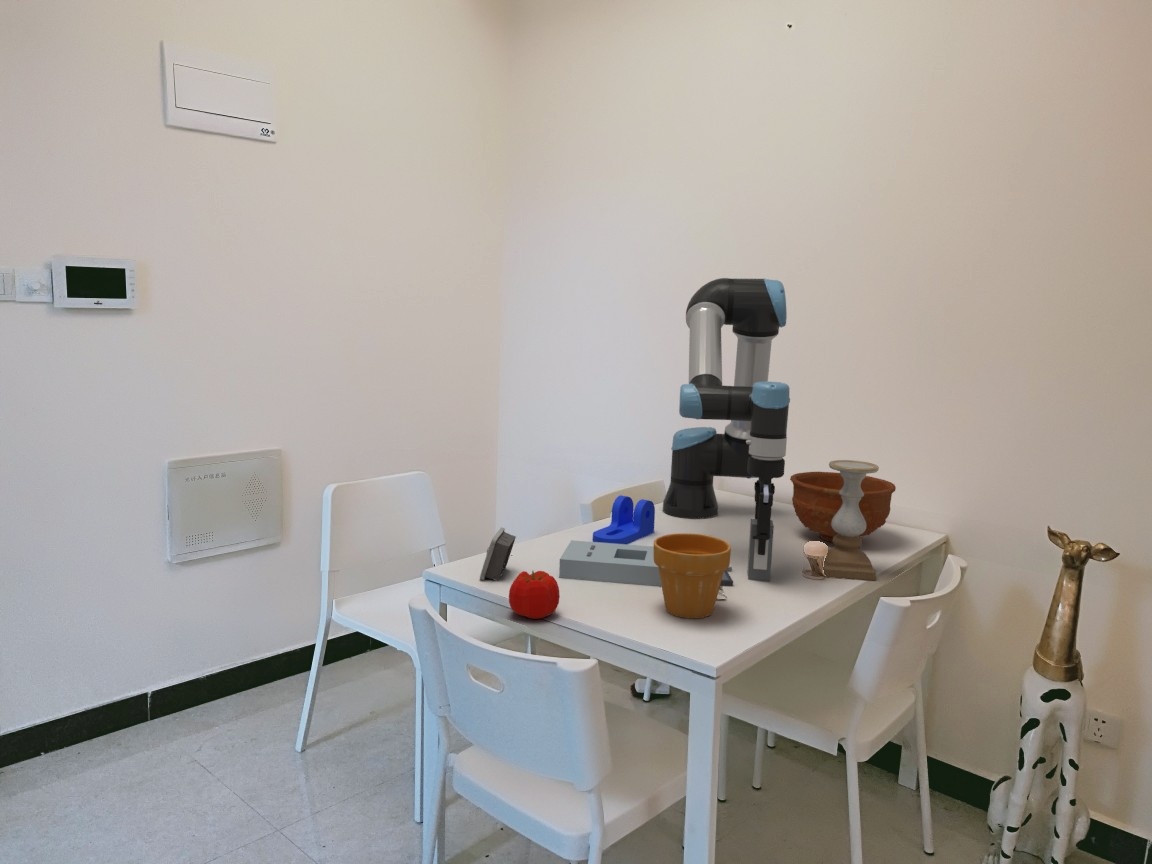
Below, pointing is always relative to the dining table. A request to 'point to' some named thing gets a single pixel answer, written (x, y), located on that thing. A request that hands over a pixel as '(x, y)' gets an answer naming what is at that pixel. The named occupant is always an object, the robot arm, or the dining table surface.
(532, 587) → the tomato
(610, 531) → the bracket
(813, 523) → the bowl
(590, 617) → the dining table surface
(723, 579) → the phone
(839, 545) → the candle holder
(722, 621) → the dining table surface
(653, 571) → the plate
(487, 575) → the electrical switch
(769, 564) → the plug
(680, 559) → the flower pot
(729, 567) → the usb cable
